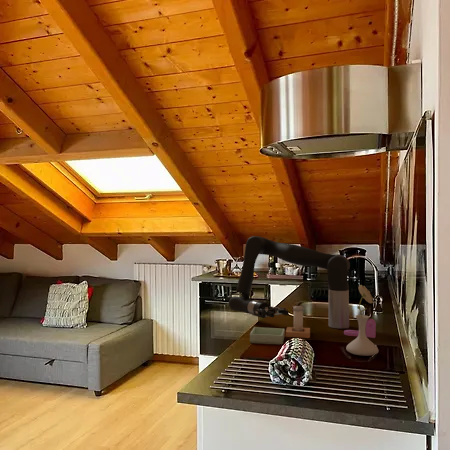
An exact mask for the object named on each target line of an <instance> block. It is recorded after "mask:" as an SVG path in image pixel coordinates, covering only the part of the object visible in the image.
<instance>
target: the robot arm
mask: <svg viewBox="0 0 450 450" xmlns="http://www.w3.org/2000/svg"><path fill="white" fill-rule="evenodd" d="M259 255H265V256H272V257H275V258H277V259H280V260H282V261H283V262H284V261H285V262H286V263H289V264H293V265H296V266H302V267H312V268H319V269H324V270H326V271H327V272H326V273H327V285H328V302H327V303H328V310H327V311H328V312H327V313H328V318H327V319H328V327H329V328H333V329H349V328H350V307H349V306H350V304H349V301H350V299H349V298H350V296H349V295H350V293H349V292H350V286H349V281H348V275H349V273H348V271H349V270H350V269H351V263H350V260H349V259H348V258H347V257H346V256H344V255H340V254H331V253H325V252H321V251H318V250H315V249H311V248H309V247H305V246H302V245H297V244H292V243H285V242H278V241H273V240H271V239H268V238H265V237H262V236H258V235H252V236H250V237H249V238H247V240H246V243H245V249H244V257H243V263H242V268H241V270H240V271H241V272H240V274H239V278H238V282H237V284H236V291H237V293H239V294H241V296H232V297H230V299H229V301H228V308H230V309H231V310H232V311H235V312H242V313H243V312H244V313H246V314H249V315H252V316H254V317H258V318H262V319H265V318H268V317H270V318H274V317H275V316H279V315H283V316H289V313H290V312H289V310H288V309H287V308H286V307H281V306H276V307H275V306H272V305H270V303H269V302H266V301H262V300H257V299H250V296H251V290H252V285H253V281H254V276H255V265H256V262H257V259H258V258H259Z"/></svg>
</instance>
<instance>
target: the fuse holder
mask: <svg viewBox="0 0 450 450" xmlns="http://www.w3.org/2000/svg"><path fill="white" fill-rule="evenodd" d="M285 329H286V330H285V337H286V338H301V339H302V338H303V339H304V338H305V339H309V338H311V328H310V327H303V332H301V331H293V326H287V327H286V328H285Z"/></svg>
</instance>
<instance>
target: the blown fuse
mask: <svg viewBox="0 0 450 450" xmlns="http://www.w3.org/2000/svg"><path fill="white" fill-rule="evenodd" d="M292 308H293V326H292V327H293V331H301V332H303V328H304V317H303V316H304V306H302V305H294V306H292Z"/></svg>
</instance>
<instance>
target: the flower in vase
mask: <svg viewBox="0 0 450 450" xmlns="http://www.w3.org/2000/svg"><path fill="white" fill-rule="evenodd" d="M358 291H359V293H360V295H361V298H360V300H359V303H358V304H357V306H356V308H357V309H358V310H359V312H360V314H356V315H355V318H356V319H357V323H358V331H359V335H358V336H356V338H355V339H353V340H351V341H350V342H349V343H348V344H347V345H346V347H345V348H346V349H345V350H346V351H347V352H348V353H350V354H352V355H356V356H363V357H364V356H367V357H368V356H374V355H377V354H378V353H379V348H378V346H376V344H375V343H373V342H372V340H370V339H369V337H366V333H365V331H366V323H367V320H369V319H370V316H369V315H365V314H362V312H364V311H366V310H367V309H368V308H367V307H365V308H364V309H362V310H361V304H362V300H363V299H364V300H365V301H366V302H367V303H369V304H373V303H374V301H373V300H374V297H373V296H372V294H371V291H370V290H368V288H366V286H365V285H362V284H360V285H358Z"/></svg>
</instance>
